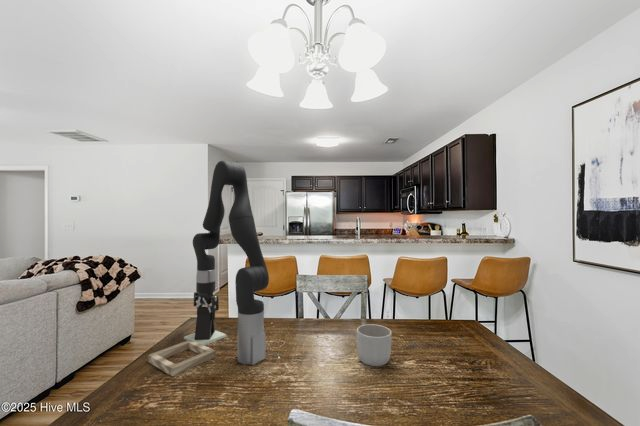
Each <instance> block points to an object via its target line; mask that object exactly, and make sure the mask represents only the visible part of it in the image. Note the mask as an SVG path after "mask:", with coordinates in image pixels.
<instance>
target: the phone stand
mask: <svg viewBox="0 0 640 426" xmlns="http://www.w3.org/2000/svg"><path fill="white" fill-rule="evenodd" d="M211 309H212V307H211ZM195 322H196V323H195V331H194V333H195V339H194V340H207V339H210V338H211V337H212V335H213V334H214V332H215V330H216V324H215V320H214V321H209V309H208V308H207V307H206V306H202V307H198V309H197V308H196V321H195Z"/></svg>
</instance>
